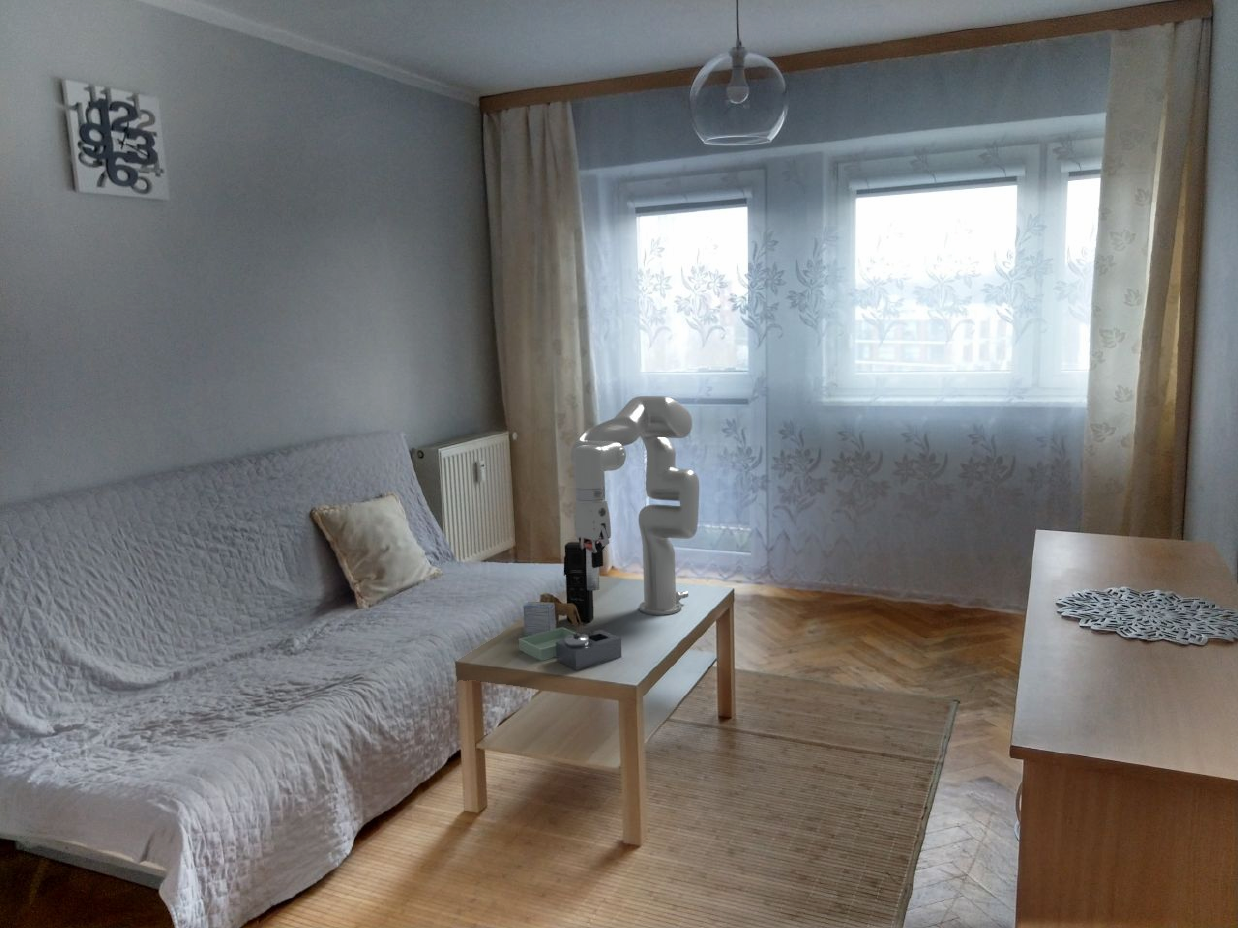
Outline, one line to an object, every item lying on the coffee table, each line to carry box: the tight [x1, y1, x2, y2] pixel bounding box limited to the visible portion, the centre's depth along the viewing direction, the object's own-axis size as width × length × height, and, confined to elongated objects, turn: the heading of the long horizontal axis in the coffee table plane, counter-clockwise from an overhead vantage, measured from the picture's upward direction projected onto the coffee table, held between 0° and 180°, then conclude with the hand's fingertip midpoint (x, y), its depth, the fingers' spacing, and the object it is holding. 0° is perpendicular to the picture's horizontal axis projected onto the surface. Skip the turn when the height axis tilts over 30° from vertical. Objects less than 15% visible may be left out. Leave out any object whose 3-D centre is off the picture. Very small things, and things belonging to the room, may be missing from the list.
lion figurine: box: [539, 592, 587, 630], centre depth 260 cm, size 15×5×9 cm, turn 66°
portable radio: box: [563, 539, 595, 624], centre depth 263 cm, size 8×6×25 cm
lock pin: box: [584, 541, 600, 592], centre depth 232 cm, size 4×4×12 cm
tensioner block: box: [555, 629, 622, 671], centre depth 232 cm, size 14×9×7 cm, turn 127°
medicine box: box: [522, 601, 557, 637], centre depth 253 cm, size 8×4×9 cm, turn 74°
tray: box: [518, 627, 577, 662], centre depth 241 cm, size 14×11×3 cm
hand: (593, 564), depth 232 cm, fingers closed on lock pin, 3 cm apart
